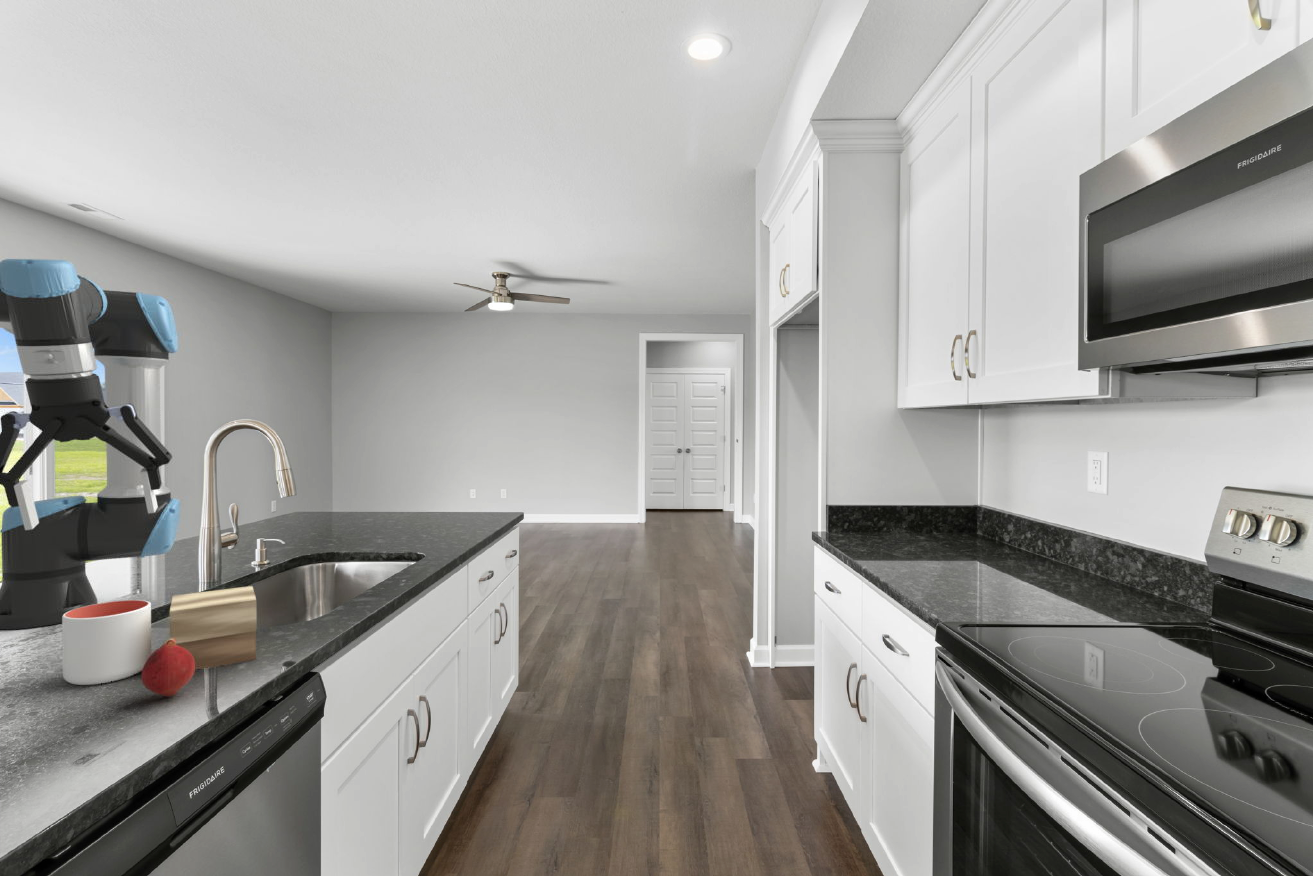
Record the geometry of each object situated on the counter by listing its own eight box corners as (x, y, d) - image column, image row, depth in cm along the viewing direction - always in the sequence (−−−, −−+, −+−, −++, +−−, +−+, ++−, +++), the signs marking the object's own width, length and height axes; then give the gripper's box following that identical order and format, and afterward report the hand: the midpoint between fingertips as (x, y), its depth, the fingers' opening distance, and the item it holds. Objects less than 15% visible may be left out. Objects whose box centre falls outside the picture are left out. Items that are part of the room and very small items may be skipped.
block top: (173, 625, 102) (172, 595, 102) (252, 614, 109) (252, 585, 109) (169, 644, 93) (169, 611, 93) (256, 630, 100) (256, 599, 100)
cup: (99, 691, 88) (98, 620, 88) (44, 685, 90) (43, 616, 90) (168, 665, 98) (167, 601, 97) (116, 660, 100) (116, 598, 99)
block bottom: (173, 655, 102) (172, 625, 102) (252, 642, 109) (252, 614, 109) (169, 677, 93) (168, 644, 93) (255, 661, 100) (255, 630, 100)
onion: (152, 709, 82) (151, 649, 82) (134, 699, 85) (134, 641, 85) (202, 693, 87) (202, 637, 87) (184, 684, 90) (184, 629, 90)
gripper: (-82, 385, 77) (-36, 543, 82) (169, 372, 89) (195, 511, 94) (-53, 376, 83) (-13, 524, 88) (177, 366, 95) (201, 496, 100)
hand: (94, 518), depth 91 cm, fingers open, 13 cm apart
